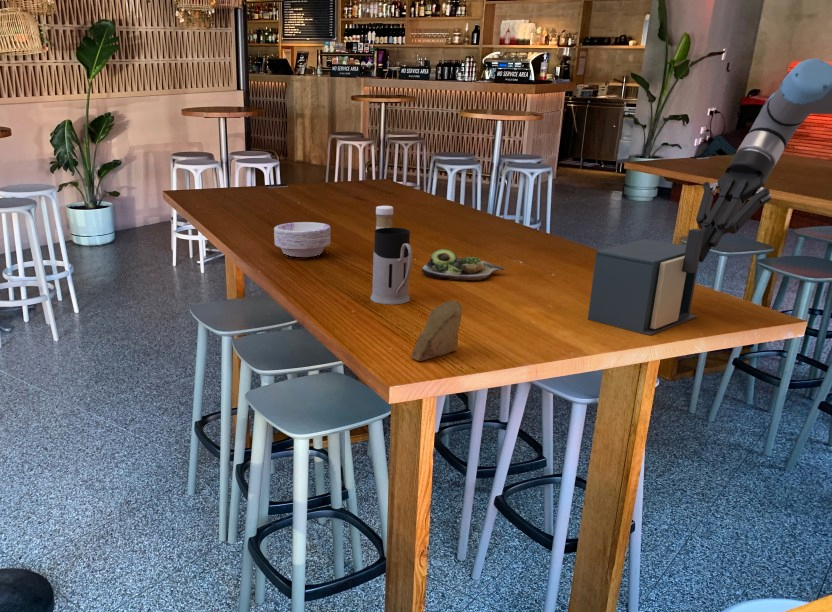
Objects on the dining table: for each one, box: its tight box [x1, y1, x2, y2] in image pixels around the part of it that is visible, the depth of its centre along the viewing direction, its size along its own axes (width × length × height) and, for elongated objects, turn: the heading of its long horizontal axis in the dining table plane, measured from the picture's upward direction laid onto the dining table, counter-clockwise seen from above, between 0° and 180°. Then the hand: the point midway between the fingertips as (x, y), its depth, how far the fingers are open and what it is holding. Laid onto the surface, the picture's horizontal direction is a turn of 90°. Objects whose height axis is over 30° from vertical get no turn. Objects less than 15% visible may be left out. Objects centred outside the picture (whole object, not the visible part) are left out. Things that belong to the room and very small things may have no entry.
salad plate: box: [421, 248, 506, 281], centre depth 195 cm, size 19×18×5 cm
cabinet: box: [587, 238, 700, 336], centre depth 158 cm, size 14×18×14 cm
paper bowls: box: [273, 221, 331, 257], centre depth 213 cm, size 15×15×8 cm
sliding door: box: [650, 228, 704, 329], centre depth 150 cm, size 3×9×18 cm, turn 129°
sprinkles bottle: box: [375, 205, 394, 230], centre depth 209 cm, size 5×5×13 cm
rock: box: [410, 300, 463, 362], centre depth 140 cm, size 11×9×10 cm
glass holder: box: [369, 227, 413, 305], centre depth 169 cm, size 9×14×15 cm, turn 18°
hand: (697, 257), depth 152 cm, fingers closed
